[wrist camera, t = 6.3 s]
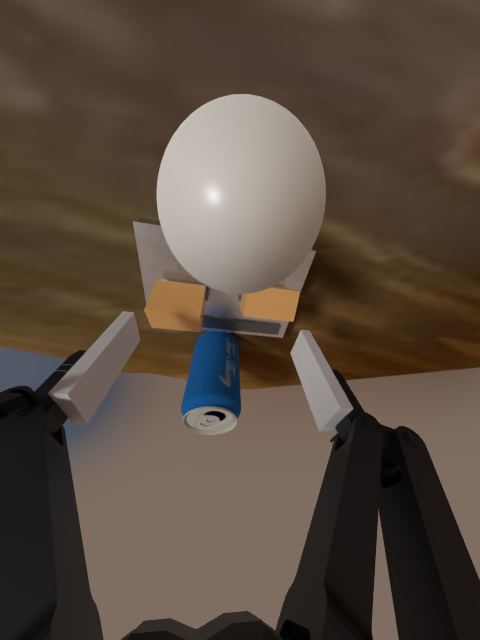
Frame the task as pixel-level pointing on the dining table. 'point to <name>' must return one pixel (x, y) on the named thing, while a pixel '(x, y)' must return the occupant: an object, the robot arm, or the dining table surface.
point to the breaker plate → (220, 305)
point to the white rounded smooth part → (241, 194)
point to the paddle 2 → (270, 304)
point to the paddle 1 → (177, 305)
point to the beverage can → (213, 385)
